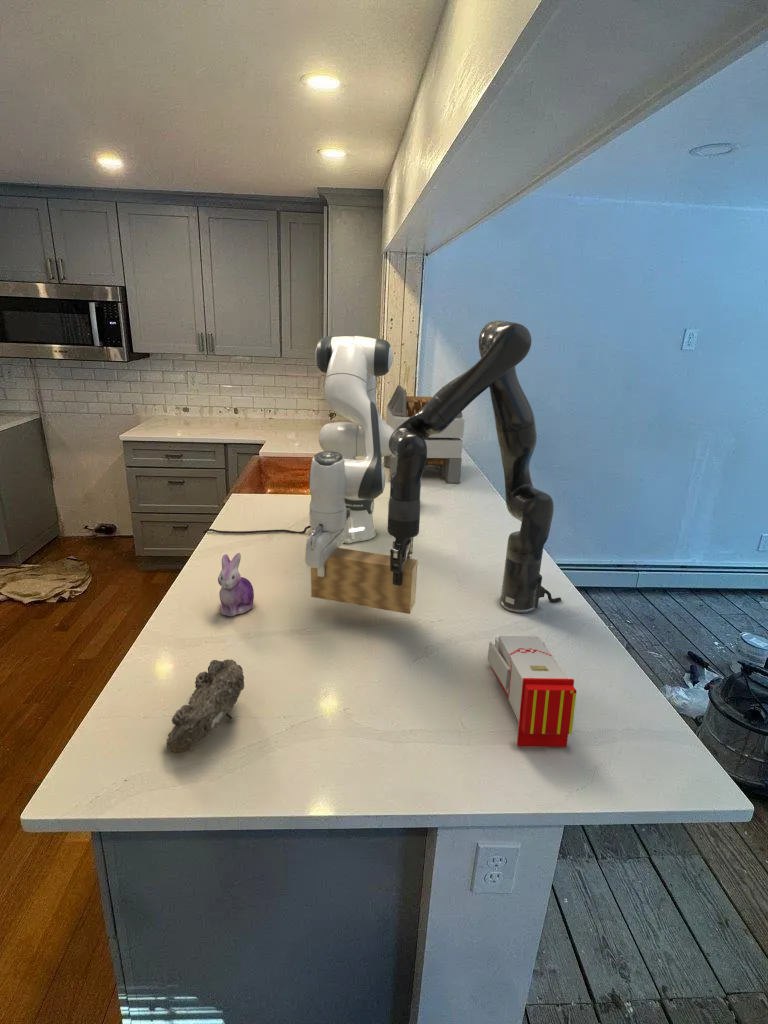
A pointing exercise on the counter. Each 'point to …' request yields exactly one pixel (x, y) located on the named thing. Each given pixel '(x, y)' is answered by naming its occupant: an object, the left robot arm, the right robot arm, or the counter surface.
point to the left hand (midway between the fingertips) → (327, 569)
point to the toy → (534, 690)
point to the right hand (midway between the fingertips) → (400, 578)
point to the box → (365, 581)
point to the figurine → (234, 588)
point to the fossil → (206, 705)
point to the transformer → (439, 446)
